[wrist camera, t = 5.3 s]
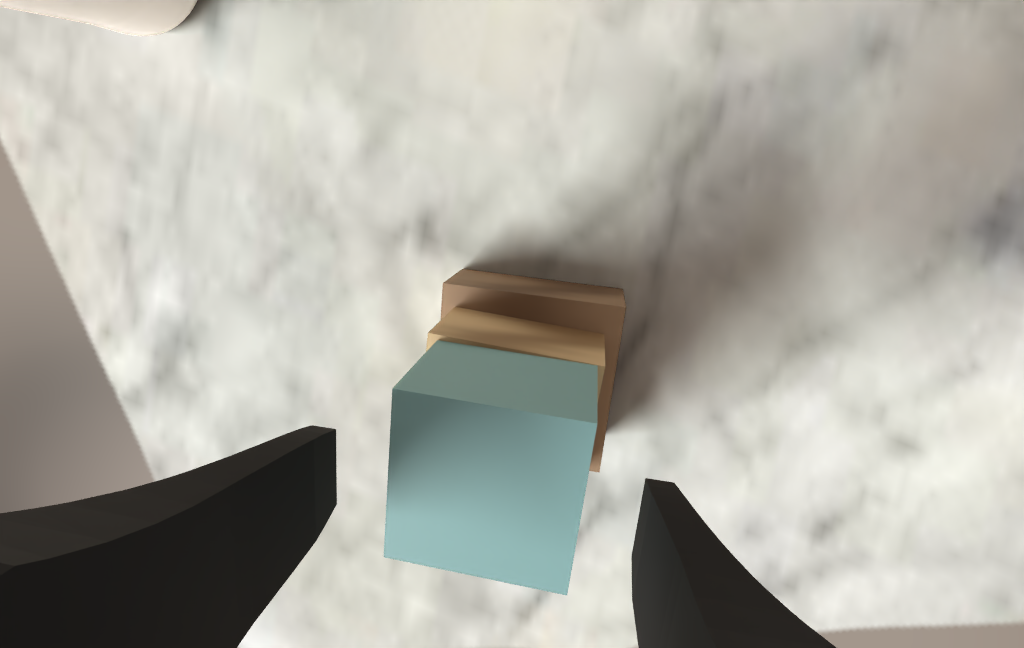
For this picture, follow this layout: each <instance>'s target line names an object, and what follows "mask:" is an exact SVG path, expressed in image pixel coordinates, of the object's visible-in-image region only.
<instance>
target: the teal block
mask: <svg viewBox="0 0 1024 648" xmlns="http://www.w3.org/2000/svg"><path fill="white" fill-rule="evenodd" d="M597 392H598V366H597V365H590V364H584V363H578V362H572V361H565V360H559V359H553V358H547V357H540V356H534V355H528V354H522V353H515V352H509V351H503V350H497V349H490V348H484V347H478V346H472V345H465V344H459V343H453V342H447V341H440V340H437V341H436V342H435V343H434V344H433V345H432V346H431V348H430V349H429V350H428V351H427V352H426V353H425V354H424V355H423V356H422V357H421V358H420V359H419V360H418V362H417V363H416V364H415V365H414V366H413V367H412V368H411V369H410V370H409V371H408V372H407V373H406V375H405V376H404V377H403V378H402V379H401V380H400V381H399V382H398V383H397V384H396V385H395V386H394V388H393V390H392V409H391V428H390V447H389V466H388V485H387V505H386V524H385V543H384V557H386V558H390V559H395V560H400V561H405V562H410V563H414V564H419V565H424V566H429V567H434V568H438V569H443V570H448V571H453V572H458V573H462V574H467V575H472V576H477V577H482V578H486V579H491V580H496V581H501V582H506V583H510V584H515V585H520V586H525V587H529V588H534V589H539V590H544V591H549V592H553V593H558V594H563V595H567V592H568V587H569V581H570V575H571V570H572V564H573V558H574V553H575V547H576V541H577V536H578V530H579V525H580V519H581V513H582V508H583V502H584V496H585V491H586V485H587V479H588V474H589V468H590V463H591V457H592V451H593V446H594V440H595V434H596V429H597Z"/></svg>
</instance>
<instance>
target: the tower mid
mask: <svg viewBox="0 0 1024 648" xmlns="http://www.w3.org/2000/svg"><path fill="white" fill-rule="evenodd" d="M437 340H440V341H447V342H453V343H459V344H465V345H472V346H478V347H484V348H490V349H497V350H503V351H509V352H515V353H522V354H528V355H534V356H540V357H547V358H553V359H559V360H565V361H572V362H578V363H584V364H590V365H597V366H598V392H597V404H598V399H599V394H600V389H601V385H602V380H603V375H604V370H605V339H604V334H601V333H595V332H590V331H584V330H579V329H574V328H568V327H563V326H557V325H552V324H546V323H541V322H536V321H530V320H525V319H519V318H514V317H508V316H503V315H497V314H492V313H487V312H481V311H476V310H470V309H465V308H459V307H454V308H453V309H452V310H451V311H450V312H449V313H448V314H447V315H446V316H445V317H444V318H443V319H442V320H441V321H440V322H439V323H438V324H437V325H436V326H435V327H434V328H432V329H431V330H430V331H429V332H428V338H427V348H426V352H427V351H428V350H429V349H430V348H431V346H432V345H433V344H434V343H435V342H436V341H437Z"/></svg>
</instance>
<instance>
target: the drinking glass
mask: <svg viewBox="0 0 1024 648" xmlns="http://www.w3.org/2000/svg"><path fill="white" fill-rule="evenodd" d="M196 2H197V0H0V7H3V8H8V9H14V10H19V11H24V12H30V13H35V14H40V15H46V16H51V17H56V18H61V19H66V20H71V21H77V22H82V23H87V24H90V25H94V26H98V27H101V28H105V29H108V30H112V31H115V32H119V33H123V34H127V35H133V36H153V35H158V34H162V33H165V32H167V31H169V30H171V29H173V28H175V27H176V26H177V25H179V24H180V23H181V22H182V21H183V20H185V19H186V17H187V16H188V15H189V14H190V12H191V11H192V9H193V8H194V6H195V4H196Z"/></svg>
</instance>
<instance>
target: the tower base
mask: <svg viewBox="0 0 1024 648" xmlns="http://www.w3.org/2000/svg"><path fill="white" fill-rule="evenodd" d="M454 307H459V308H465V309H470V310H476V311H481V312H487V313H492V314H497V315H503V316H508V317H514V318H519V319H525V320H530V321H536V322H541V323H546V324H552V325H557V326H563V327H568V328H574V329H579V330H584V331H590V332H595V333H601V334H604V339H605V370H604V375H603V380H602V385H601V389H600V394H599V399H598V404H597V429H596V434H595V440H594V446H593V451H592V457H591V463H590V468H589V471H594V472H599V471H600V465H601V458H602V452H603V446H604V440H605V434H606V427H607V421H608V415H609V409H610V403H611V397H612V390H613V384H614V378H615V372H616V366H617V360H618V353H619V347H620V341H621V335H622V329H623V323H624V316H625V310H626V304H625V299H624V293H623V289H619V288H611V287H603V286H595V285H587V284H579V283H571V282H563V281H555V280H547V279H539V278H531V277H523V276H515V275H508V274H500V273H492V272H484V271H476V270H468V269H462V270H460V271H459V272H458V273H456V274H455V275H454V276H452V277H451V278H449V279H448V280H447V281H445V282H444V283H443V290H442V307H441V320H442V319H443V318H444V317H445V316H446V315H447V314H448V313H449V312H450V311H451V310H452V309H453V308H454Z"/></svg>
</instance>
